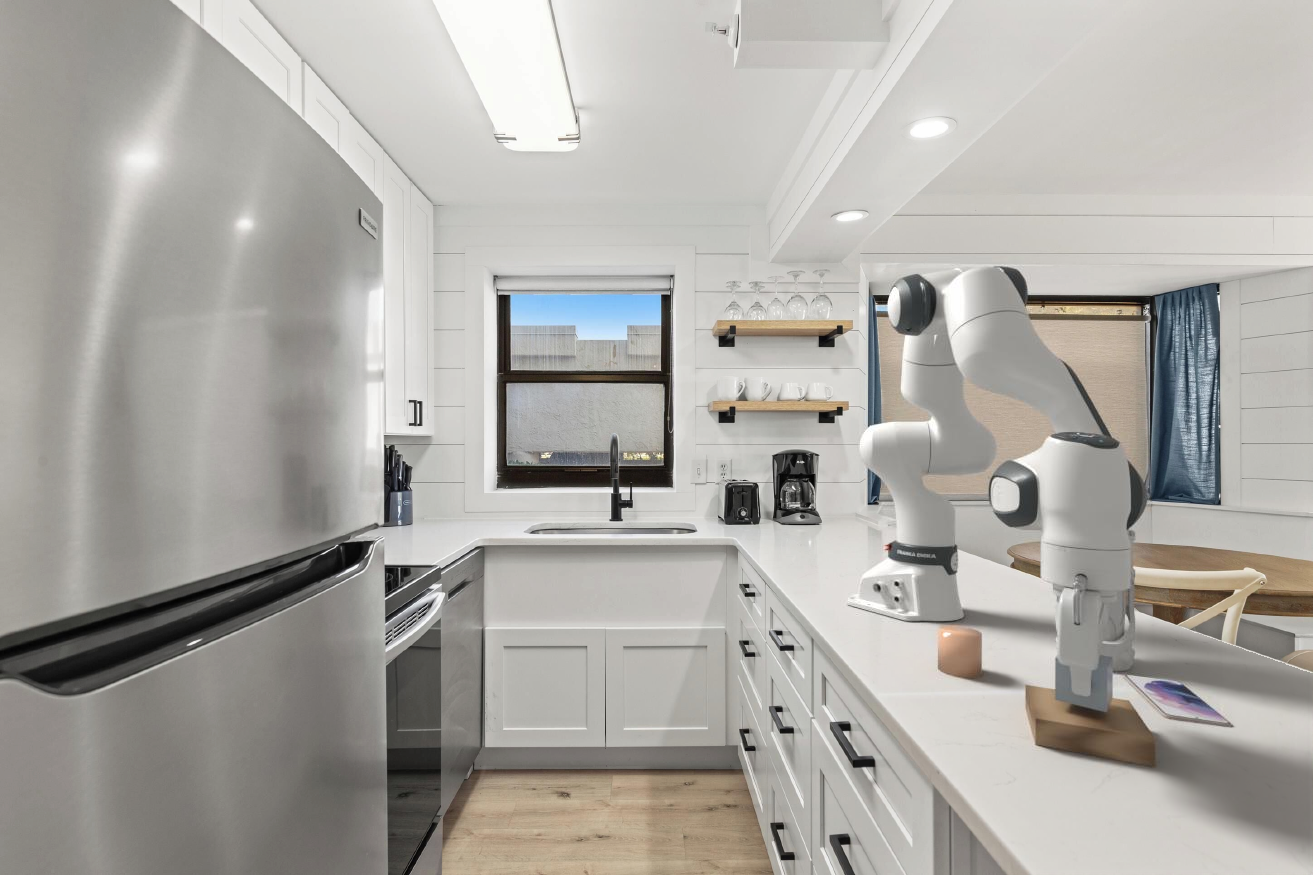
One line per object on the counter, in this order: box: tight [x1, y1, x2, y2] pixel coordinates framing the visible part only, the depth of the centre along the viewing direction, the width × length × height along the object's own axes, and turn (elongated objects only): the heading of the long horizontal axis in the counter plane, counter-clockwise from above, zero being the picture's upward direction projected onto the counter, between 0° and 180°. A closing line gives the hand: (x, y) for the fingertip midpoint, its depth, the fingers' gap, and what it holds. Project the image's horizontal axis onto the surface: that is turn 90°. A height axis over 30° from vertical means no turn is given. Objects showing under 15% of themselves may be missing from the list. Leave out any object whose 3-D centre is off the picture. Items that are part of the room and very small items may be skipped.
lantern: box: [1055, 528, 1136, 672], centre depth 100 cm, size 13×10×25 cm
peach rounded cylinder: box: [937, 625, 983, 679], centre depth 94 cm, size 6×6×6 cm
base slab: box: [1024, 684, 1156, 768], centre depth 74 cm, size 11×11×3 cm
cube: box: [1054, 654, 1114, 712], centre depth 74 cm, size 5×5×5 cm
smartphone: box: [1123, 674, 1233, 728], centre depth 84 cm, size 7×1×15 cm
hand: (1083, 684), depth 74 cm, fingers closed on cube, 5 cm apart
